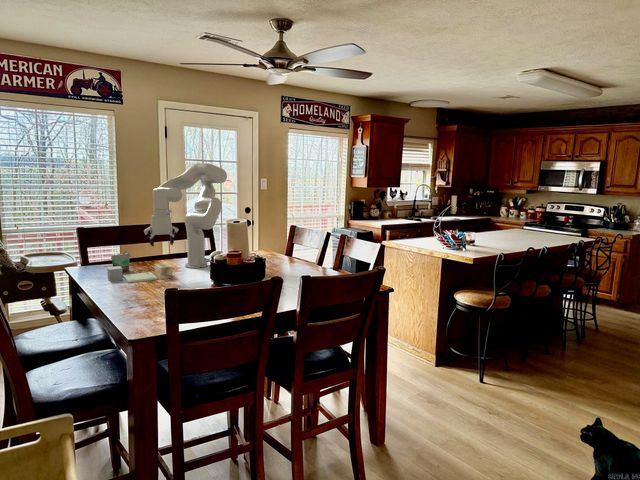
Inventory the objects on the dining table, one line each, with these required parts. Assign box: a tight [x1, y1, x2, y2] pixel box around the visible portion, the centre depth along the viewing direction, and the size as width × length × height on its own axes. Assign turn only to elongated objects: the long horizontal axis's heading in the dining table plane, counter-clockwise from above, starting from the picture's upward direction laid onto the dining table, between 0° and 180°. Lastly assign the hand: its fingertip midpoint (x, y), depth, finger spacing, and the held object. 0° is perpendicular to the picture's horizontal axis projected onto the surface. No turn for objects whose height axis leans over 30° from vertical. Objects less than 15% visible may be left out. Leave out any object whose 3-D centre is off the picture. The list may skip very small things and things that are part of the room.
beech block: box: [154, 262, 173, 280], centre depth 231 cm, size 6×12×6 cm, turn 33°
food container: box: [110, 250, 131, 273], centre depth 240 cm, size 12×6×10 cm, turn 168°
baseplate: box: [123, 271, 159, 284], centre depth 226 cm, size 14×14×1 cm
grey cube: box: [106, 266, 124, 282], centre depth 223 cm, size 6×6×6 cm
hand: (162, 245), depth 229 cm, fingers open, 9 cm apart
